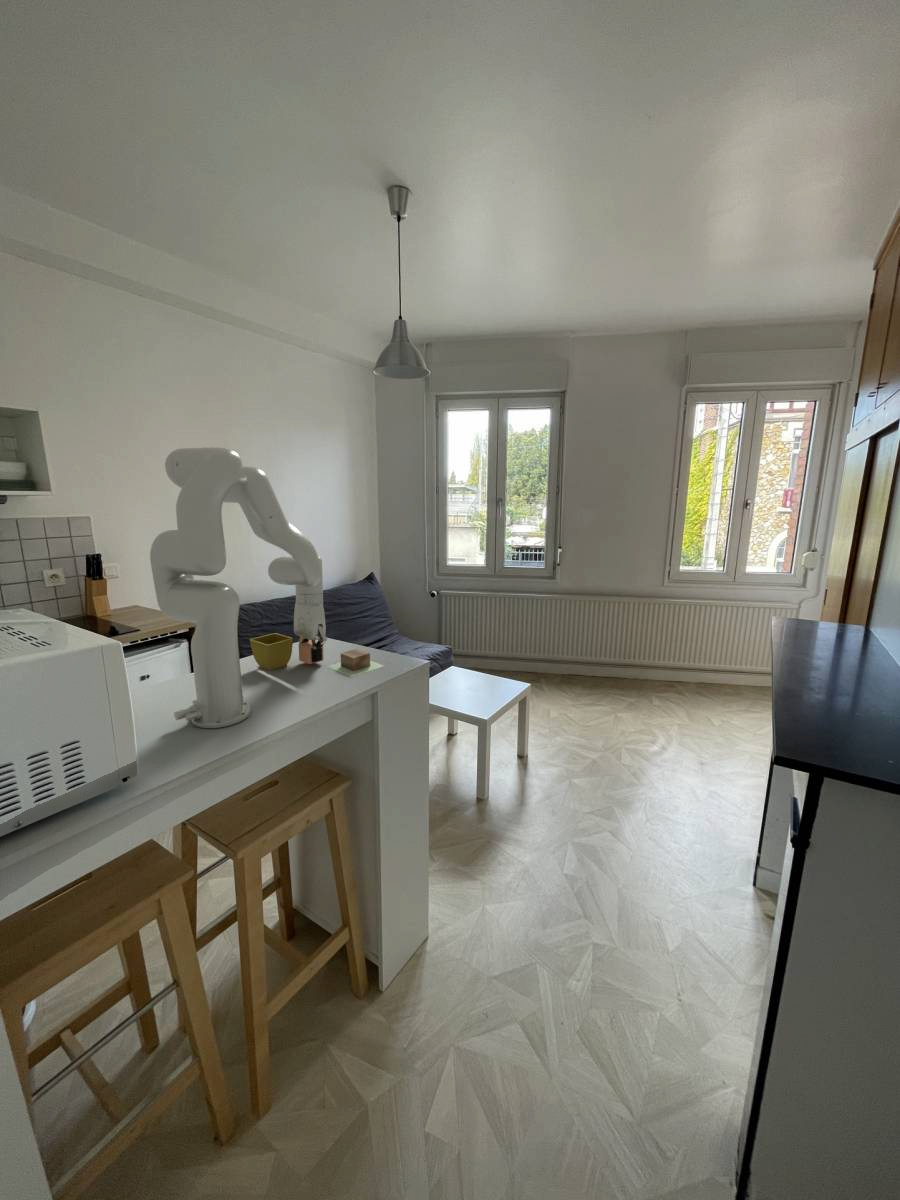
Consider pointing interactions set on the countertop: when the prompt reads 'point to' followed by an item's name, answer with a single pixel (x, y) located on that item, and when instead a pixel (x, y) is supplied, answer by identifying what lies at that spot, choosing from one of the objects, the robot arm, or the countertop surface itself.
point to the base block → (355, 659)
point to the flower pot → (272, 650)
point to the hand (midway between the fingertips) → (311, 658)
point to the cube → (307, 652)
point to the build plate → (354, 673)
